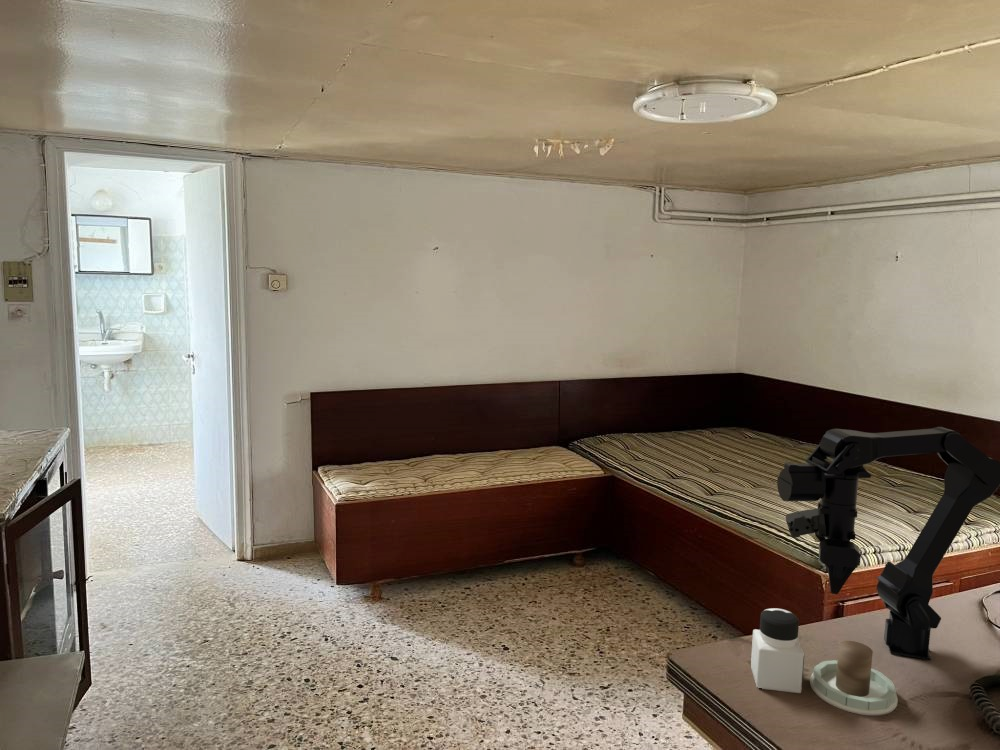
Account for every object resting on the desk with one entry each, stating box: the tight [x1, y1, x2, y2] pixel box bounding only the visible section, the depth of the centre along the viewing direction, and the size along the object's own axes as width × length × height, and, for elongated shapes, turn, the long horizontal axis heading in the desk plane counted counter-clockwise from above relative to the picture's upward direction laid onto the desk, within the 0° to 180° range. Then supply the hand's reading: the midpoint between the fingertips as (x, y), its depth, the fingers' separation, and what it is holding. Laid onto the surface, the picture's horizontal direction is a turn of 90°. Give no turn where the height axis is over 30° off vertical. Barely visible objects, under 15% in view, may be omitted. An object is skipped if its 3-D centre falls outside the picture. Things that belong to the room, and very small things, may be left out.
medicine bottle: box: [750, 607, 805, 694], centre depth 120 cm, size 7×7×12 cm
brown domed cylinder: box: [836, 640, 874, 697], centre depth 117 cm, size 5×5×7 cm
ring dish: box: [809, 659, 899, 716], centre depth 117 cm, size 13×13×2 cm
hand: (832, 583), depth 129 cm, fingers open, 9 cm apart
